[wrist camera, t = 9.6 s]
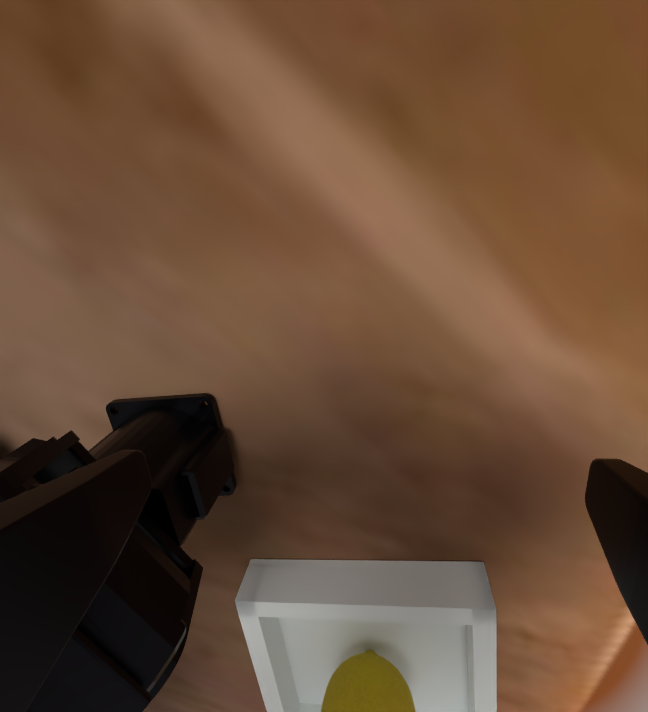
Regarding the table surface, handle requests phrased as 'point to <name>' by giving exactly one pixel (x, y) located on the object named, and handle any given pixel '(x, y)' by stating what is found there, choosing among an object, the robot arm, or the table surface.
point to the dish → (371, 628)
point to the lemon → (367, 686)
